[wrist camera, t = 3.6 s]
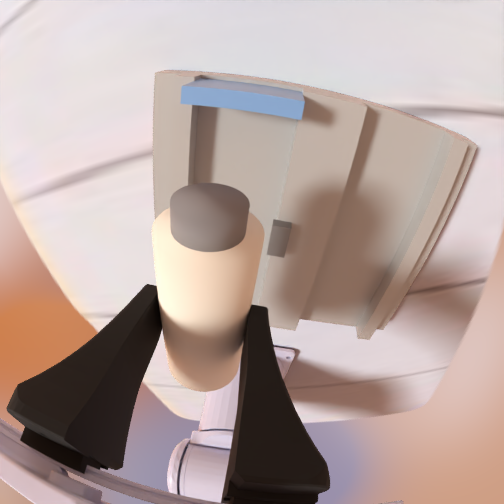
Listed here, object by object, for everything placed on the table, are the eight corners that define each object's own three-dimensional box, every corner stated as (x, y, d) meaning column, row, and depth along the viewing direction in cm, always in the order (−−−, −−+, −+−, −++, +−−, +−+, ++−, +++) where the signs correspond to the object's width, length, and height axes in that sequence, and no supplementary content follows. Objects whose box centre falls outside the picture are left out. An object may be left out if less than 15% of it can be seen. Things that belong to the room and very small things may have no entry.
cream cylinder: (242, 349, 17) (230, 406, 14) (180, 335, 17) (161, 389, 14) (274, 185, 10) (262, 247, 8) (174, 169, 11) (129, 223, 8)
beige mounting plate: (380, 315, 24) (388, 359, 21) (166, 280, 24) (148, 322, 21) (465, 137, 14) (504, 166, 11) (165, 70, 14) (128, 80, 11)
